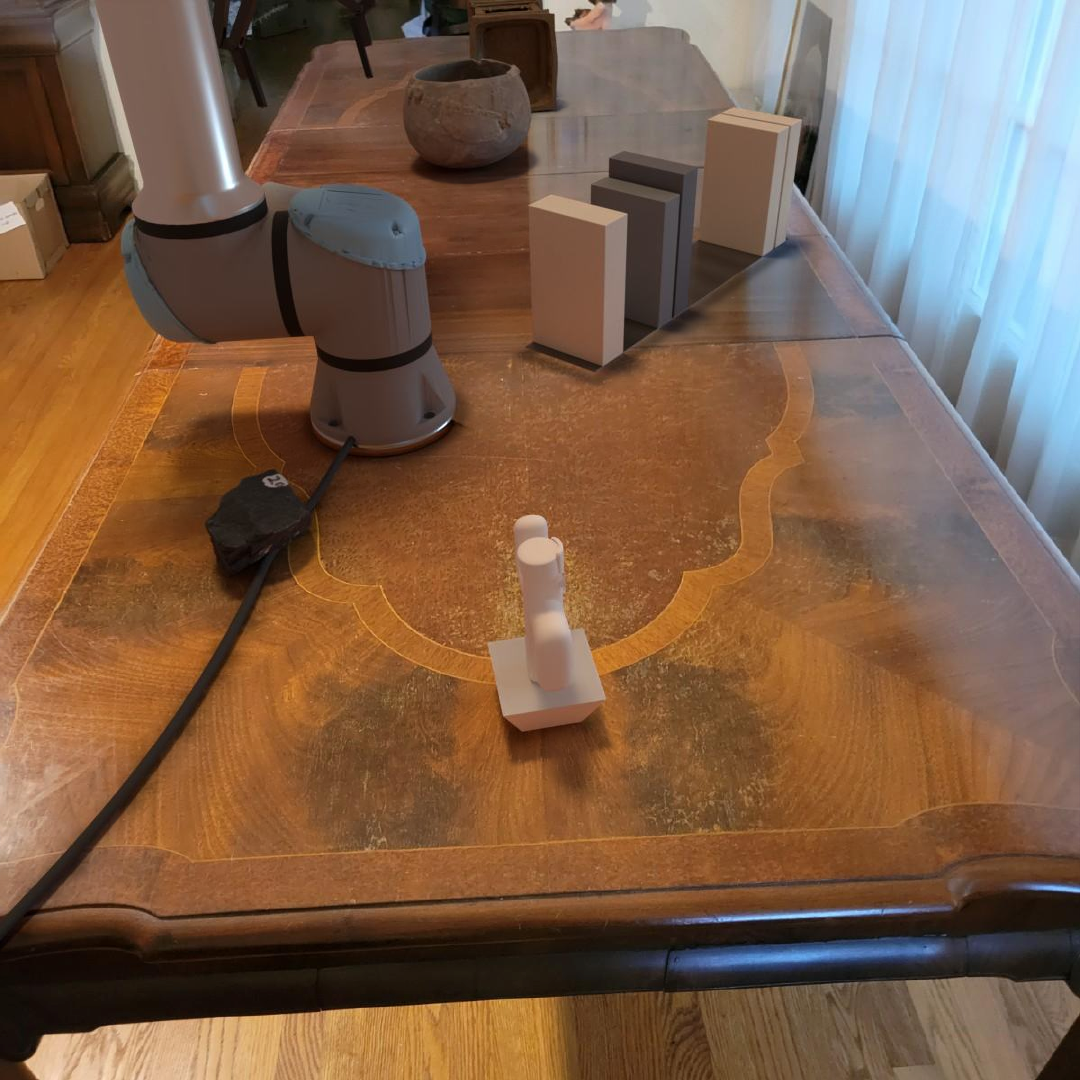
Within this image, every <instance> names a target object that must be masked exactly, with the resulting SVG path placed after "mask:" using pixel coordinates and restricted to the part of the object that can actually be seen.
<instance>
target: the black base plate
mask: <svg viewBox="0 0 1080 1080" xmlns="http://www.w3.org/2000/svg"><path fill="white" fill-rule="evenodd" d="M788 240H790V238H789V237H786V239H785V242H787V241H788ZM785 242H783V243H782V244H784V243H785ZM782 244H780V245H779V246H781V245H782ZM779 246H777V247H776V248H773V250H771V251H770V252H768V253H767V254H766V255H768V254H769V253H771V252H773V251H774V250H775V249H777V248H778V247H779ZM766 255H764V256H758V255H755V254H751V253H747V252H743V251H739V250H735V249H732V248H728V247H724V246H720V245H716V244H712V243H708V242H705V241H701V240H696V241H694V242H692V252H691V265H690V278H689V291H688V304H687V309H686V310H688V309H690V308H692V306H694V305H695V304H697V303H699V302H700V301H701V300H702V299H704V298H705V297H707V296H708V295H710V294H711V293H713V292H714V291H716V290H718V289H719V288H720V287H721V286H723V285H724V284H726V283H727V282H729V281H730V280H731V279H733V278H734V277H736V276H737V275H739V274H740V273H742V272H743V271H745V270H746V269H748V268H750V266H752V265H753V264H755V263H756V262H758V261H759V260H761V259H762V258H764V257H765V256H766ZM686 310H684V311H683V312H685V311H686ZM683 312H681V313H680V314H678V315H677V316H675V317H672V319H671V320H669V321H668V322H667V323H669V322H670V321H672V320H673V319H675V318H677V317H678V316H679V315H681V314H682V313H683ZM667 323H665V324H664V325H667ZM664 325H662V326H661V327H663V326H664ZM661 327H659V328H656V327H652V326H649V325H646V324H643V323H640V322H637V321H634V320H631V319H627V318H624V335H623V353H621V354H620V355H618V356H617V357H616V358H618V357H619V356H621V355H622V354H625V352H627V351H628V350H630V349H631V348H632V347H634V346H635V345H637V344H638V343H640V342H642V341H643V340H644V339H646V338H647V337H649V336H650V335H651V334H653V333H655V332H656V331H657V330H659V329H660V328H661ZM524 348H525V349H529V350H532V351H535V352H536V353H539V354H543V355H545V356H548V357H551V358H554V359H556V360H559V361H562V362H565V363H567V364H570V365H573V366H575V367H579V368H582V369H584V370H587V371H590V372H593V373H596V372H597V371H600V370H601V369H602V368H603V367H605V366H606V365H608V364H609V363H611V362H612V361H614V360H616V358H614V359H613V360H611V361H610V362H608V363H607V364H605V365H604V366H600V365H597V364H595V363H592V362H589V361H586V360H583V359H580V358H578V357H575V356H572V355H569V354H566V353H563V352H561V351H558V350H555V349H552V348H549V347H546V346H544V345H541V344H538V343H535V342H533V341H532V342H530V343H529V344H527V345H525V346H524Z"/></svg>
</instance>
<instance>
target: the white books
mask: <svg viewBox="0 0 1080 1080" xmlns="http://www.w3.org/2000/svg"><path fill="white" fill-rule="evenodd" d="M802 123H803V119H801V118H796V117H795V118H794V117H789V116H784V115H778V114H773V113H767V112H762V111H756V110H750V109H746V108H739V107H730V108H729V109H726V110H724V111H722V112H721V113H719V114H716V115H714V116H712V117H710V118H708V119H707V124H706V125H707V126H706V137H705V139H706V140H705V151H704V164H703V165H704V166H703V177H702V189H701V201H700V213H699V226H698V237H697V239H698V240H701V241H705V242H708V243H712V244H716V245H720V246H724V247H728V248H732V249H735V250H739V251H743V252H747V253H751V254H755V255H758V256H763V257H765V256H767V255H768V254H769V253H771V252H772V251H774V250H773V248H775V249H777V248H778V247H780V246H781V245H782V244H784V243H786V241H785V239H786V238H787V231H788V223H789V217H790V209H791V201H792V195H793V188H794V182H795V181H794V180H795V173H796V165H797V160H798V159H797V158H798V151H799V144H800V138H801V137H800V136H801V130H802ZM698 240H697V241H698ZM783 242H784V243H783ZM780 244H781V245H780ZM777 246H778V247H777ZM776 247H777V248H776ZM771 250H772V251H771ZM770 251H771V252H770ZM768 252H769V253H768ZM767 253H768V254H767ZM764 255H765V256H764Z"/></svg>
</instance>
